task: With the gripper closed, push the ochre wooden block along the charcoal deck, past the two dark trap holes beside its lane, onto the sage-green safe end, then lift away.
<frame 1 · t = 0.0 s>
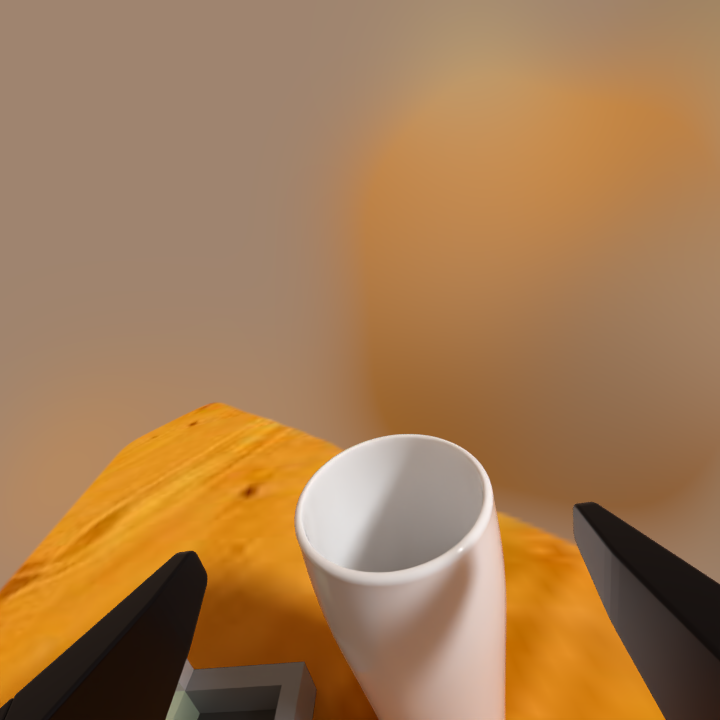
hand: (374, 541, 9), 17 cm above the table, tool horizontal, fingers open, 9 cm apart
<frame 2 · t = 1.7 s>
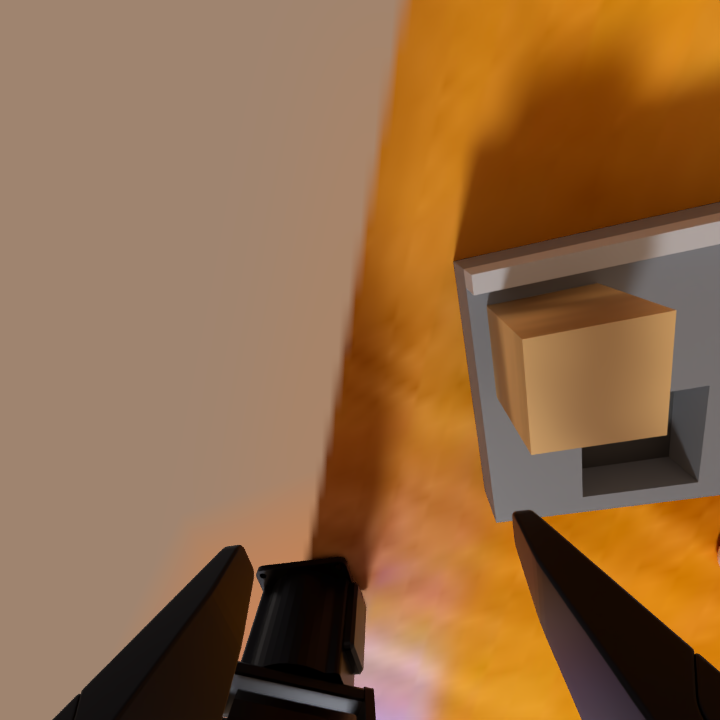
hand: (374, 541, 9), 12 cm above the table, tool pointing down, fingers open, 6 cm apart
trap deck: (649, 358, 19), on the table
ochre block: (543, 343, 16), point 2 cm above the table, touching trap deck
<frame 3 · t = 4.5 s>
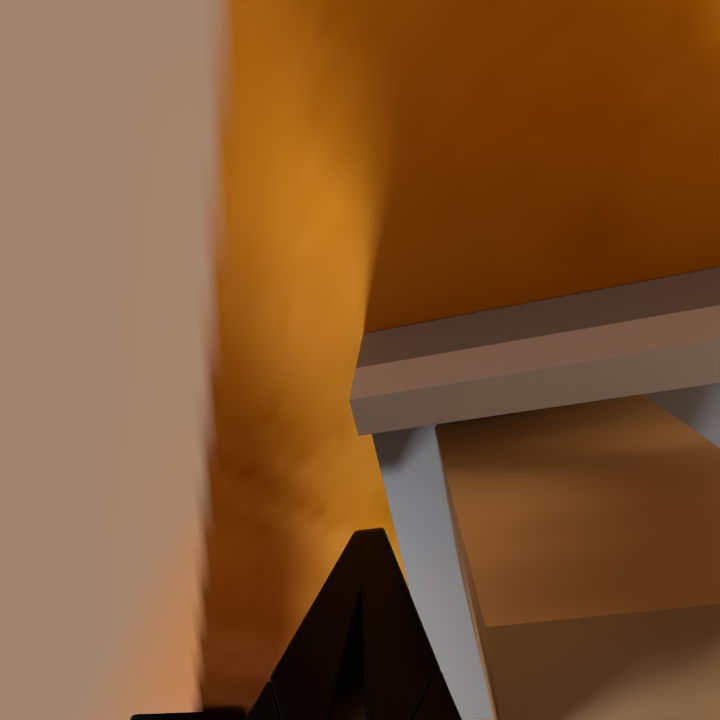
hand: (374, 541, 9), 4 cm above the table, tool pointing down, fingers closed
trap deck: (685, 487, 12), on the table
ochre block: (538, 488, 9), point 3 cm above the table, touching gripper, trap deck
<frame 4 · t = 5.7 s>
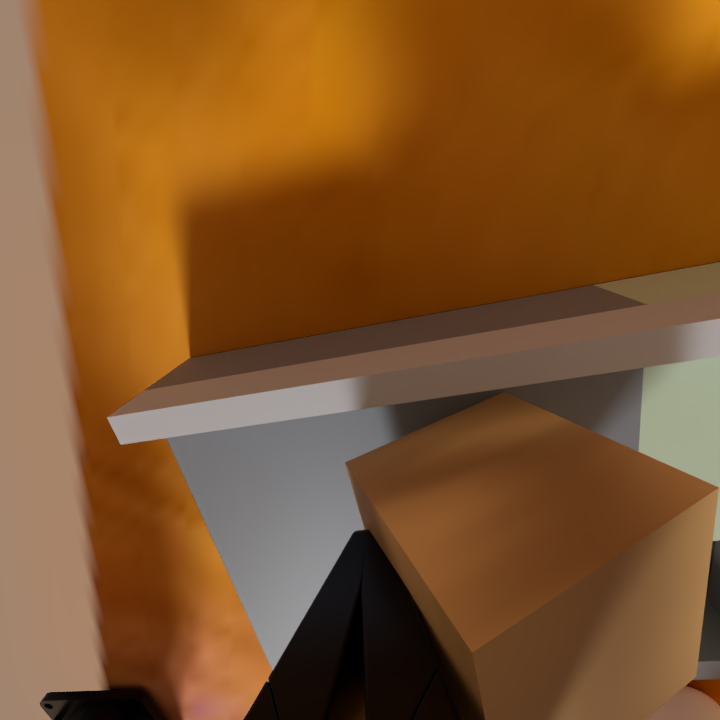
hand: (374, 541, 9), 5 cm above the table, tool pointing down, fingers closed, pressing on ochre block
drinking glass: (651, 705, 18), on the table
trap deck: (476, 490, 14), on the table
ochre block: (444, 498, 10), point 4 cm above the table, tilted 27°, touching gripper
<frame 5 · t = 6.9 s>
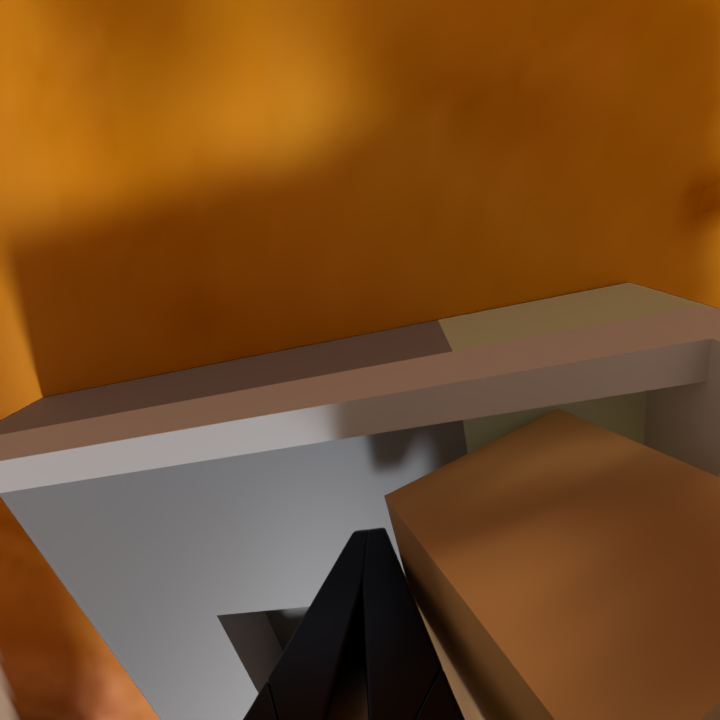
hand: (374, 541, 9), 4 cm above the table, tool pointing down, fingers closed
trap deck: (355, 525, 13), on the table
ochre block: (489, 528, 9), point 4 cm above the table, tilted 27°, touching gripper
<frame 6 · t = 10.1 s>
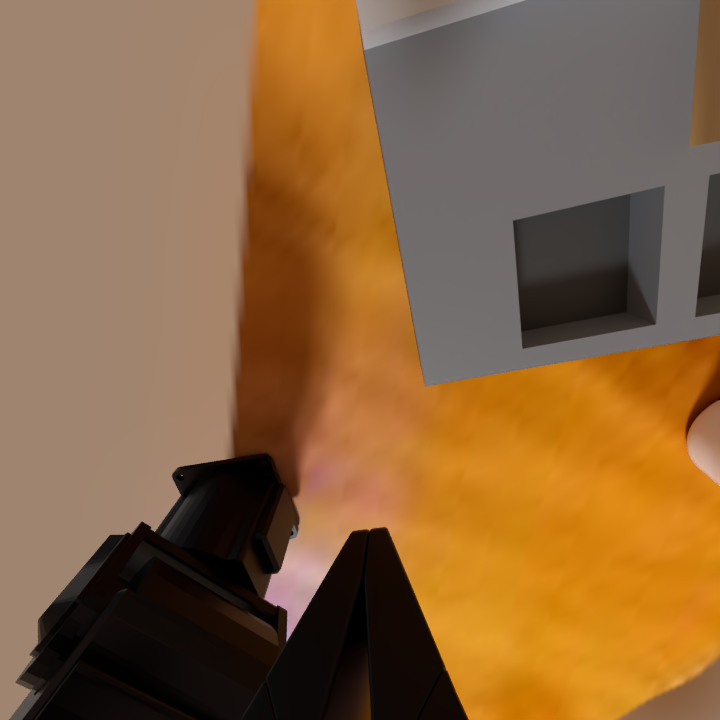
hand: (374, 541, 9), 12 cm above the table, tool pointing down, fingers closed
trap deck: (600, 182, 16), on the table
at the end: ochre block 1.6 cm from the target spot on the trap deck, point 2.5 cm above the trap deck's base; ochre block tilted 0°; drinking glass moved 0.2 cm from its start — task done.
